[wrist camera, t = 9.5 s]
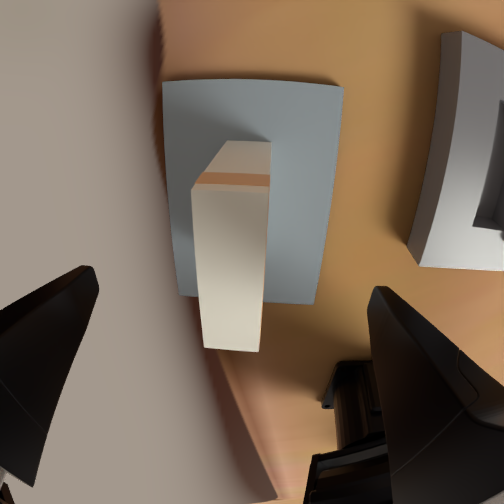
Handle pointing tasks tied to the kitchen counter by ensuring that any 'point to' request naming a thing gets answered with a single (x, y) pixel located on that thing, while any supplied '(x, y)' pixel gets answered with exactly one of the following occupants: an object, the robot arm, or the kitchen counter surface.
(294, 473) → the kitchen counter surface
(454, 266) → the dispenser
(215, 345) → the tan banded white slab
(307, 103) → the mat
